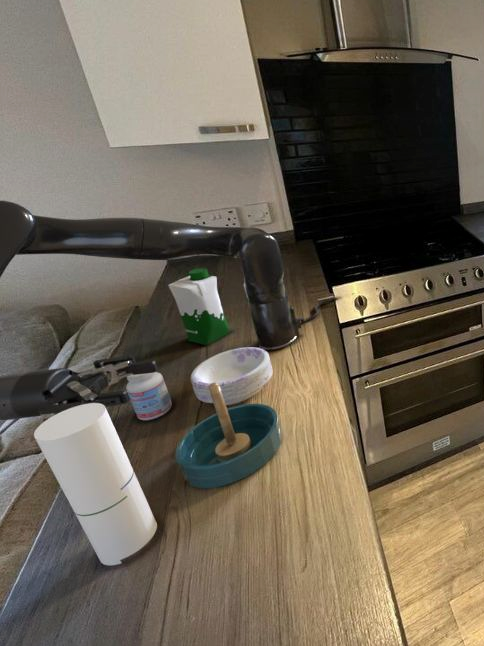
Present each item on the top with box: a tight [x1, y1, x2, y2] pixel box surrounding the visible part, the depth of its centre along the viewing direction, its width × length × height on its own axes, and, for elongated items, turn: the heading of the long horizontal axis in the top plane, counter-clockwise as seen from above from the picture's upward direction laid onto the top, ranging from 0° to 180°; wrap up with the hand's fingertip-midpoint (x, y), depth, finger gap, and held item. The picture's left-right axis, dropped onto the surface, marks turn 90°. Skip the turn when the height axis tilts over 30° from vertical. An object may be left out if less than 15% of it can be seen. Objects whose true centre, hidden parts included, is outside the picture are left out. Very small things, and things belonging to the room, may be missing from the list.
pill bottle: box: [125, 371, 173, 421], centre depth 96 cm, size 6×6×11 cm
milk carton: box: [167, 267, 231, 346], centre depth 122 cm, size 9×9×20 cm
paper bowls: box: [190, 346, 274, 406], centre depth 102 cm, size 15×15×8 cm
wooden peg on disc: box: [209, 382, 252, 463], centre depth 84 cm, size 6×6×17 cm
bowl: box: [174, 403, 283, 489], centre depth 86 cm, size 16×16×6 cm
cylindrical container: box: [33, 403, 158, 566], centre depth 66 cm, size 7×7×25 cm
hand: (142, 380), depth 77 cm, fingers open, 8 cm apart
